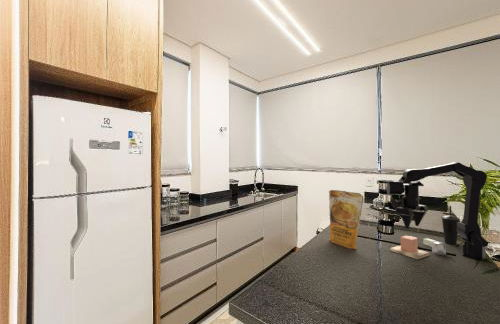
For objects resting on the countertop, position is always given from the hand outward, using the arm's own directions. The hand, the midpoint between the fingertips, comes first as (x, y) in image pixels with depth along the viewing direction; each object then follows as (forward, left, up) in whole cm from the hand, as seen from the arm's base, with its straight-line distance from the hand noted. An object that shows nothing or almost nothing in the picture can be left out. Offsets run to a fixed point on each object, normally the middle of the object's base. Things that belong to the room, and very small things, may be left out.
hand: (412, 227), depth 113 cm
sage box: (0, -17, -12) cm, 21 cm away
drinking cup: (-3, -31, -12) cm, 34 cm away
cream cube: (+5, -9, -12) cm, 16 cm away
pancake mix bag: (+22, +22, -12) cm, 33 cm away
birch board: (0, +4, -12) cm, 12 cm away
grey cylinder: (-7, -8, -12) cm, 16 cm away
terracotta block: (0, +3, -11) cm, 11 cm away
